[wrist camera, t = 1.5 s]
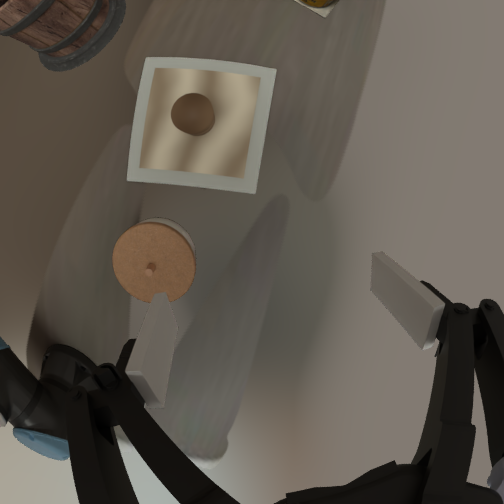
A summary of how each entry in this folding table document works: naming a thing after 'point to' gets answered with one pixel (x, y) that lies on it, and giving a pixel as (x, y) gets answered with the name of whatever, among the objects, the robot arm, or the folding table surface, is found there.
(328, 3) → the condiment
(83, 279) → the folding table surface
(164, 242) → the lidded jar
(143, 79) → the mat
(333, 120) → the folding table surface
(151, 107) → the lid
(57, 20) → the tankard
